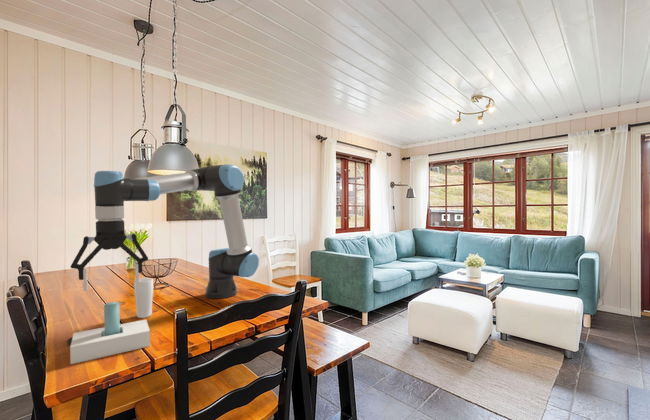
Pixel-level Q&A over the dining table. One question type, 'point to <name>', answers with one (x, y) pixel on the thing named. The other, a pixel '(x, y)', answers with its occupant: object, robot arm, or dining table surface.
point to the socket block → (109, 341)
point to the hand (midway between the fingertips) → (112, 286)
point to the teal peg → (112, 318)
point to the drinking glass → (144, 297)
